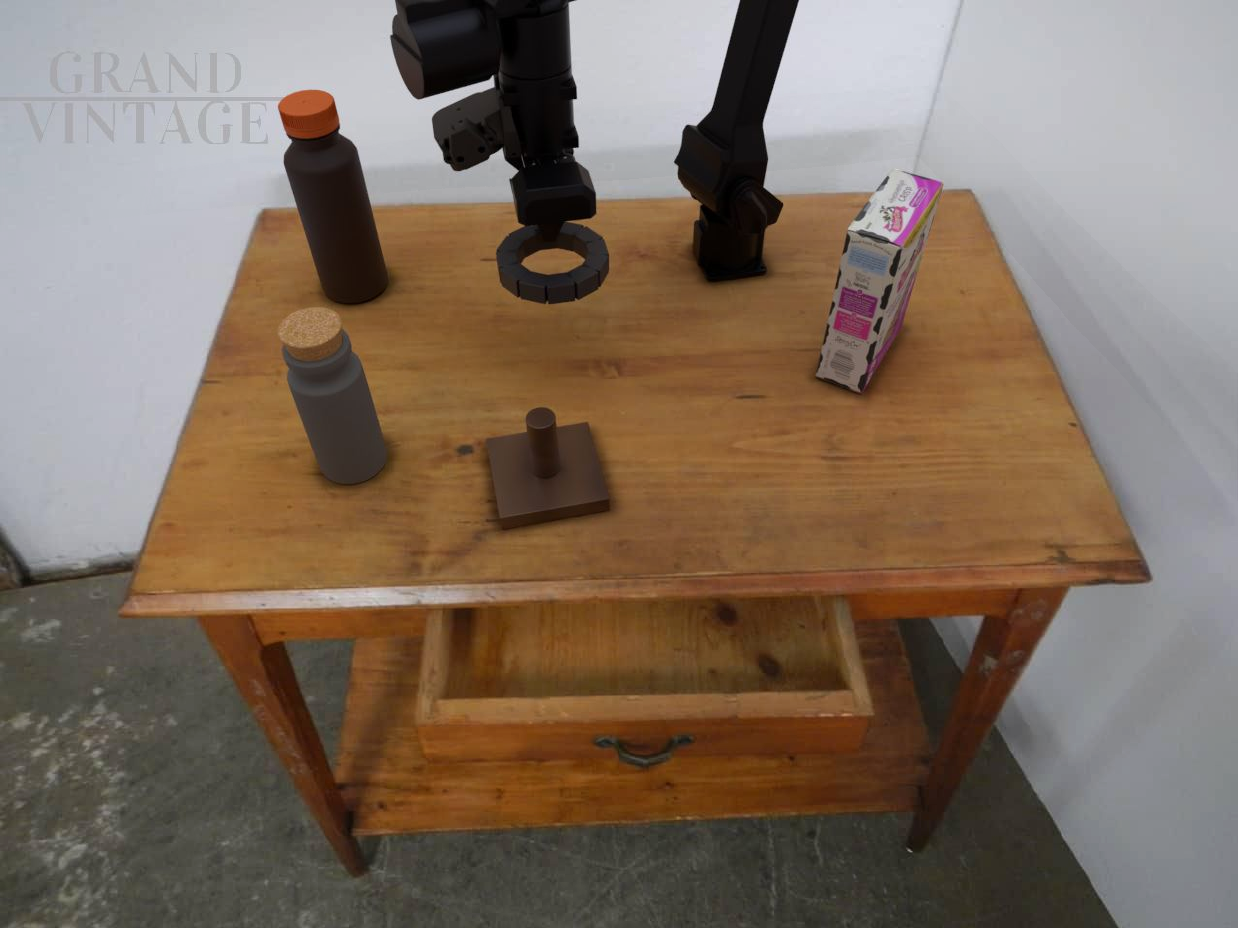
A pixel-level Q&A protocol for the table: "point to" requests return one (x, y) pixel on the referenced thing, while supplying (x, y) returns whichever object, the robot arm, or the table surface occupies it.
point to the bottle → (332, 396)
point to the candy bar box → (877, 277)
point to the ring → (553, 285)
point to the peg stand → (546, 472)
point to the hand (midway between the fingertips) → (547, 234)
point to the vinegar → (332, 198)
